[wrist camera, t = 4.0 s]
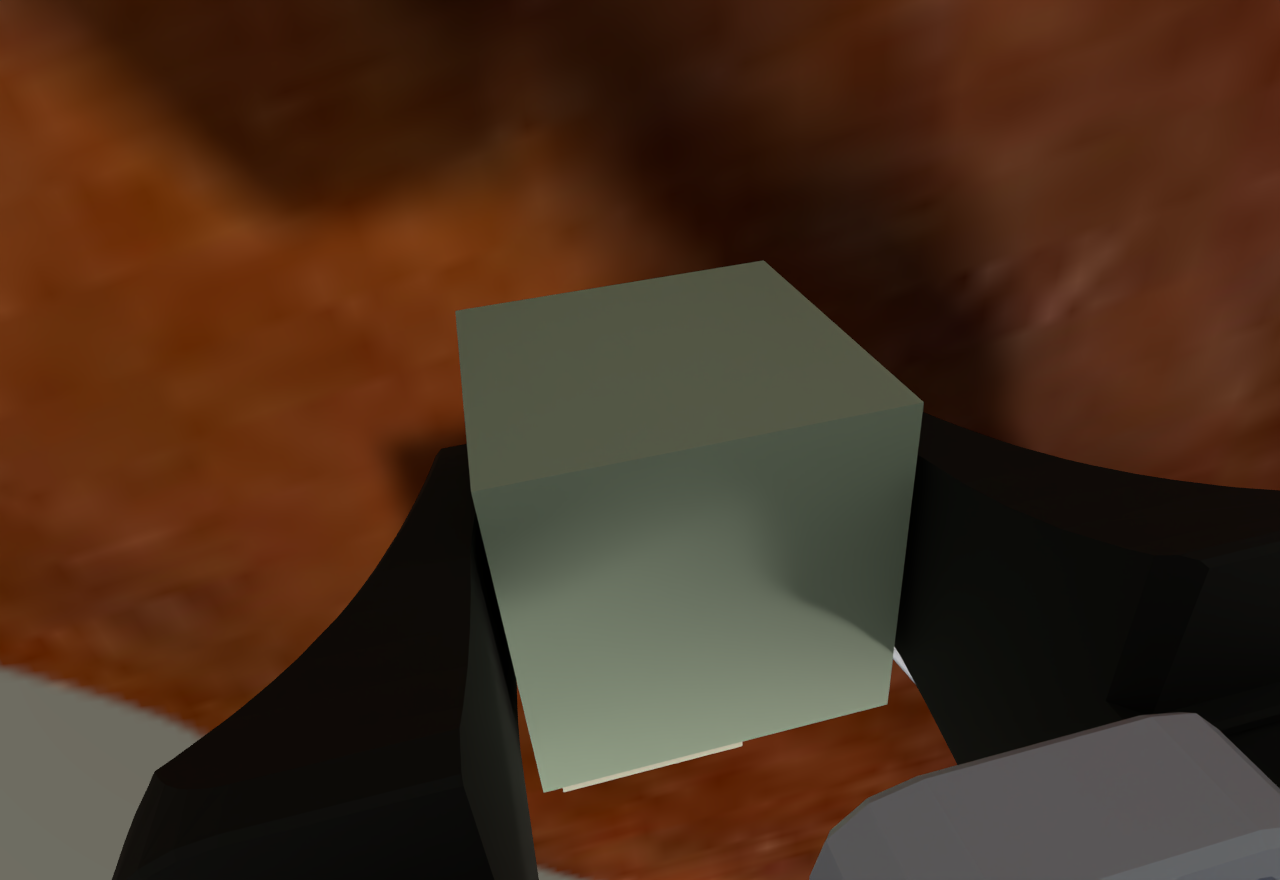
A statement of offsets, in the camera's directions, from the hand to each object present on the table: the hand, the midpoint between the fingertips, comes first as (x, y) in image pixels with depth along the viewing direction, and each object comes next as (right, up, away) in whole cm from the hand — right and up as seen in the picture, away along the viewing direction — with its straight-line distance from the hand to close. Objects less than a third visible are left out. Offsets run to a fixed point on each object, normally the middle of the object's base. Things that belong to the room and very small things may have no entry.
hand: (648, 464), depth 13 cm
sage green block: (0, +1, +1) cm, 2 cm away
